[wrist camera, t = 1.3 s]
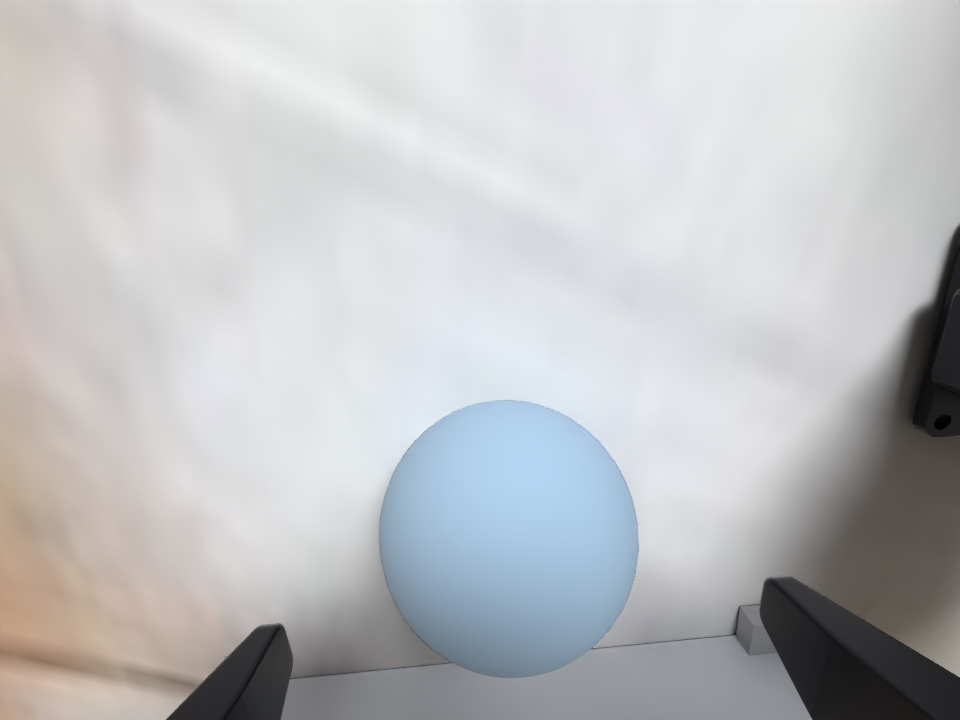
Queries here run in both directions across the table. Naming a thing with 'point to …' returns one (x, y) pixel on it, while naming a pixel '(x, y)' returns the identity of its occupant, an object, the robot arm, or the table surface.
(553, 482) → the ball
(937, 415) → the robot arm
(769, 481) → the table surface
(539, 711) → the long gray bar
